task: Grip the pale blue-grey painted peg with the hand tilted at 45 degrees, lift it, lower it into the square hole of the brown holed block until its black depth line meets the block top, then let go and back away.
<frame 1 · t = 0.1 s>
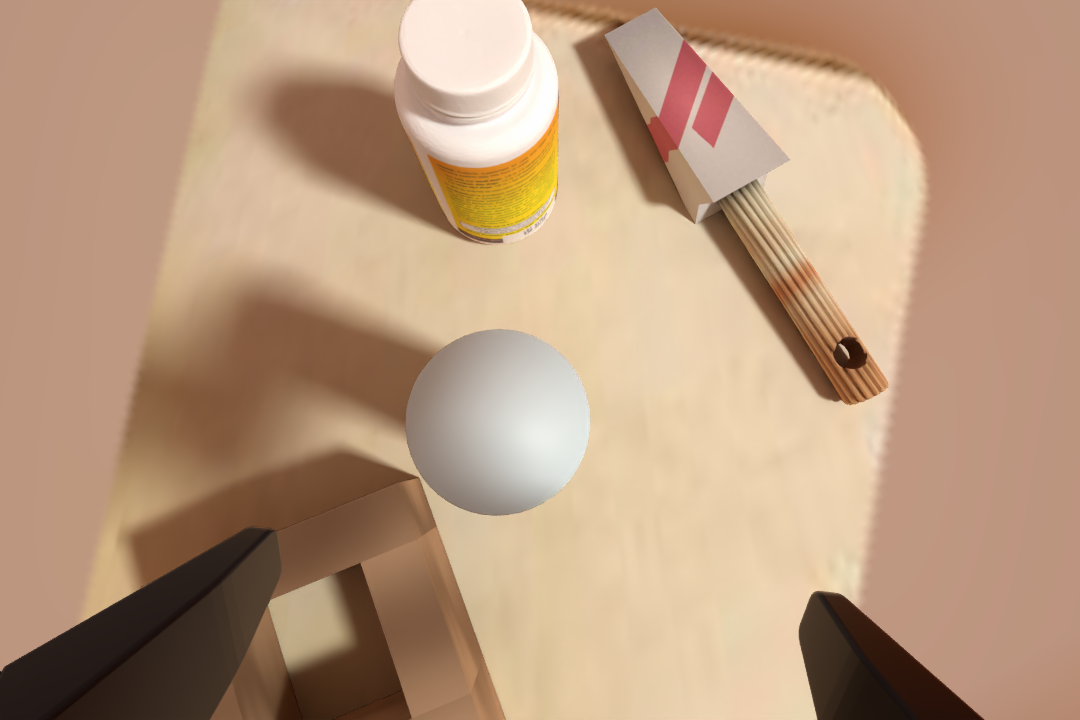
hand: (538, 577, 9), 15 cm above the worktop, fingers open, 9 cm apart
peg: (525, 434, 24), on the worktop
paintbrush: (732, 214, 26), on the worktop
supplement bottle: (499, 195, 26), on the worktop
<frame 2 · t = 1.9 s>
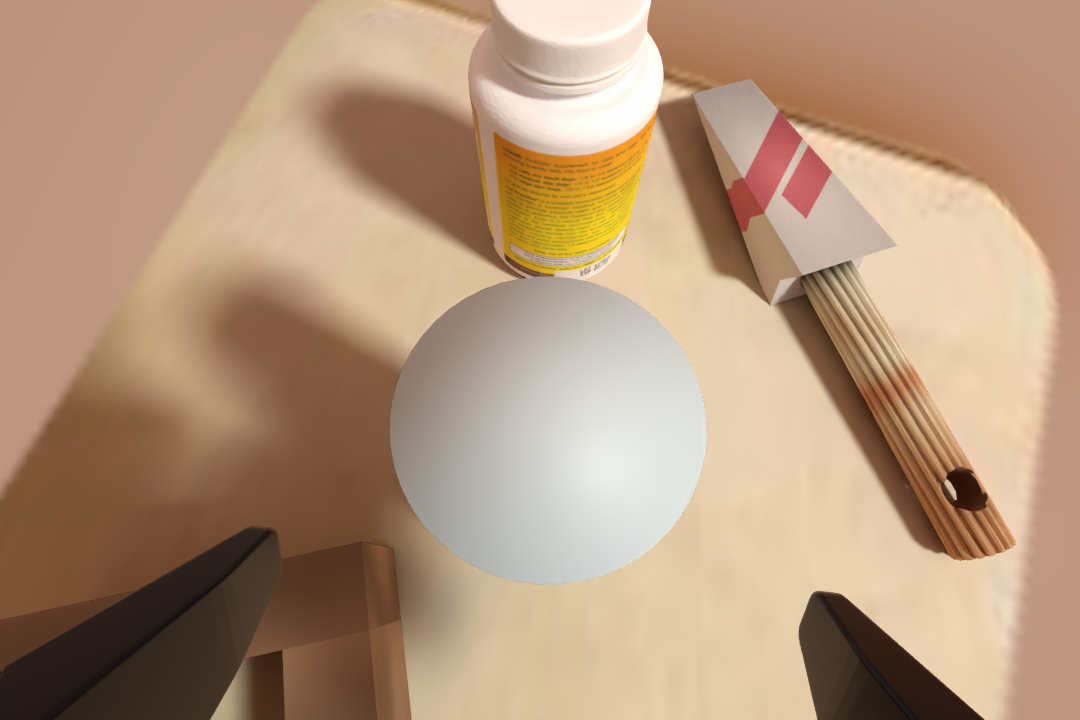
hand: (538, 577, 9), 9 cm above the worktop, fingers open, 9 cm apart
peg: (540, 515, 19), on the worktop
paintbrush: (813, 303, 22), on the worktop
supplement bottle: (556, 234, 23), on the worktop
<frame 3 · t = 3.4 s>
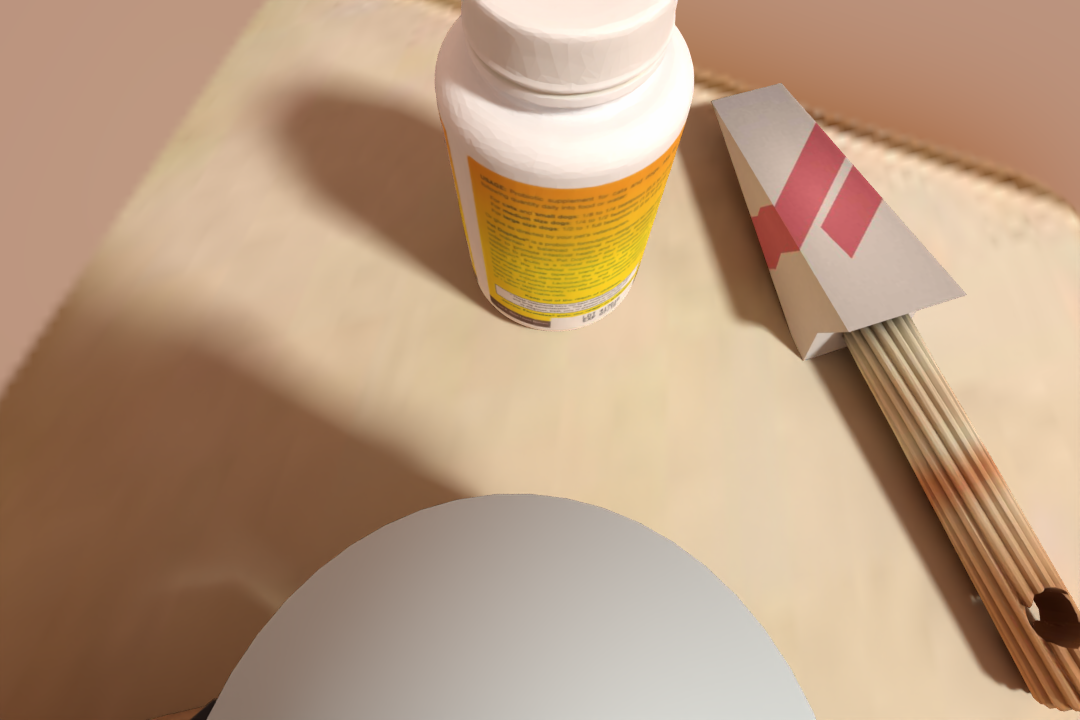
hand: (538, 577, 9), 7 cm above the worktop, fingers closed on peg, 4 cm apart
peg: (532, 630, 15), on the worktop, touching gripper
paintbrush: (855, 357, 18), on the worktop
supplement bottle: (554, 266, 19), on the worktop
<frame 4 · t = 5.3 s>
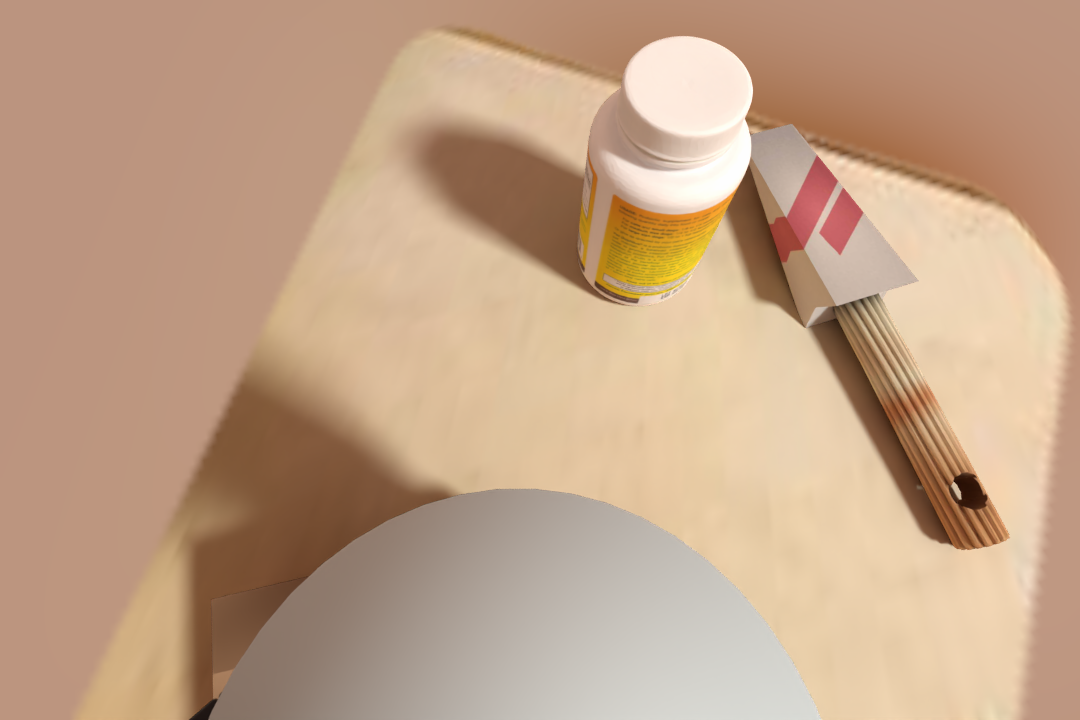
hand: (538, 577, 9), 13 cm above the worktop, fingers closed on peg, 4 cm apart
peg: (533, 628, 15), point 6 cm above the worktop, touching gripper
paintbrush: (842, 326, 25), on the worktop
supplement bottle: (633, 260, 26), on the worktop
when the fingers open (7 cm above the worktop, at t = 7.5 s): peg stays where it is, resting in brown holed block.
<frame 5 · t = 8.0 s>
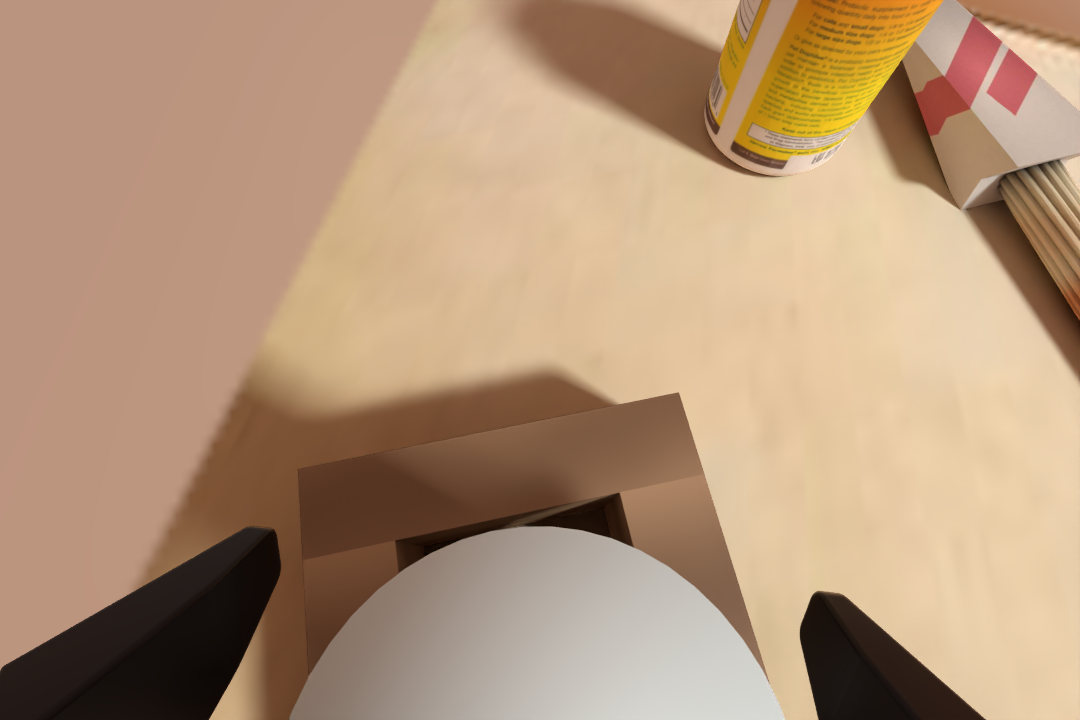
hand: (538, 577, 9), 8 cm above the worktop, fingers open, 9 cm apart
peg: (531, 629, 16), resting in brown holed block
paintbrush: (1002, 212, 21), on the worktop
supplement bottle: (766, 131, 23), on the worktop
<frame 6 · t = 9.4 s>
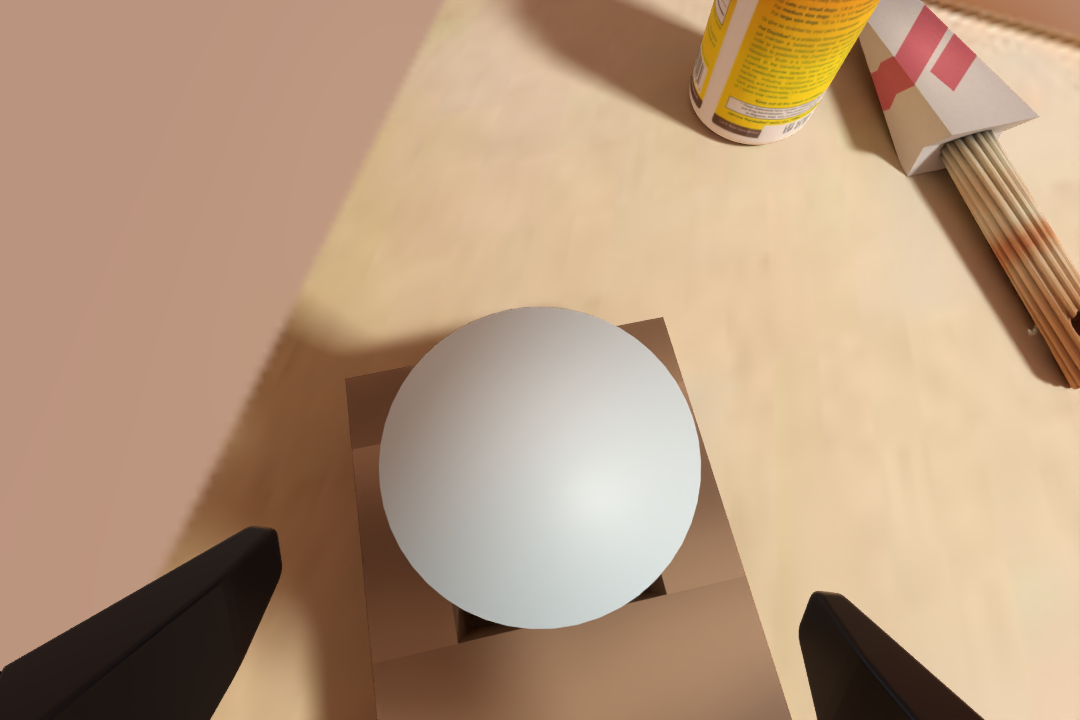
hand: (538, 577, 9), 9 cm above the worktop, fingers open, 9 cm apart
peg: (539, 522, 19), resting in brown holed block
paintbrush: (945, 179, 24), on the worktop
brown holed block: (567, 650, 17), on the worktop
supplement bottle: (744, 106, 25), on the worktop
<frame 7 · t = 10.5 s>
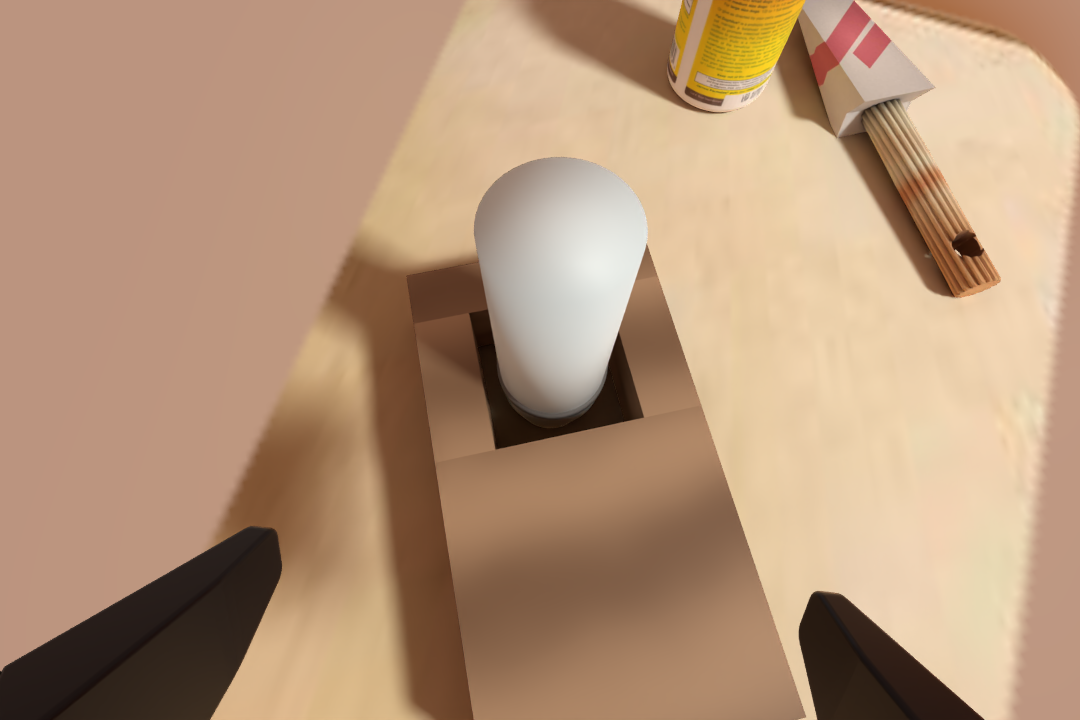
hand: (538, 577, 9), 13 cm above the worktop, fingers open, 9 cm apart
peg: (550, 392, 24), resting in brown holed block
paintbrush: (868, 140, 30), on the worktop
brown holed block: (572, 480, 23), on the worktop
supplement bottle: (712, 82, 31), on the worktop
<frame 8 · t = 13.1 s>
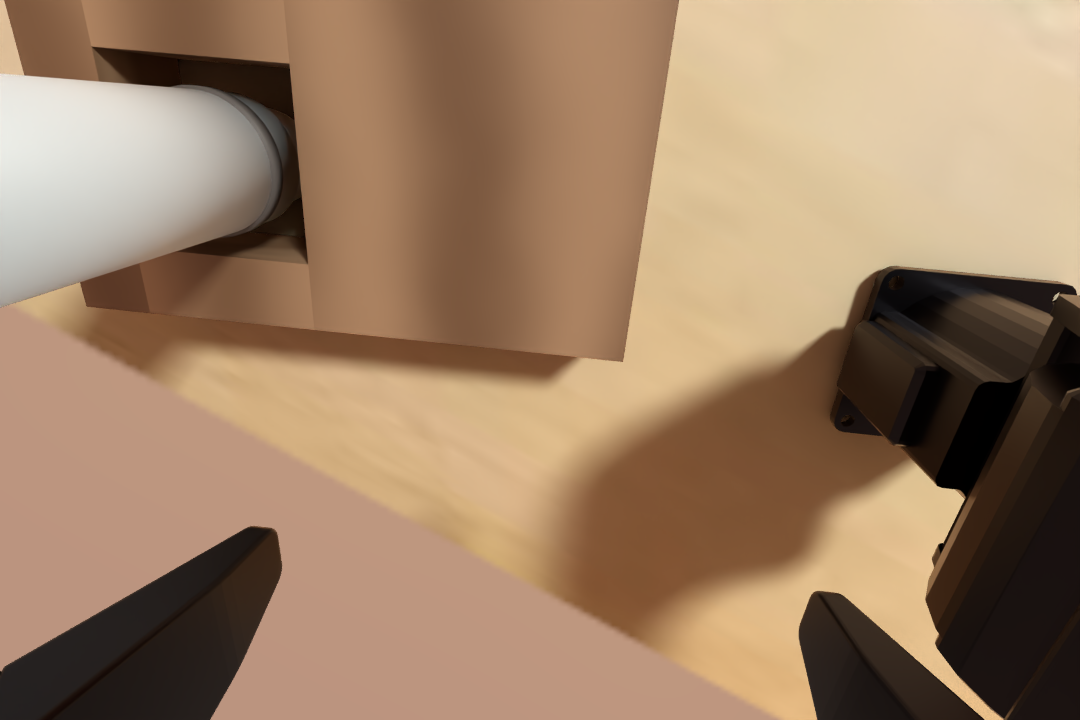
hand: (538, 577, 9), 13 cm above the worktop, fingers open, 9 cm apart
peg: (270, 157, 19), resting in brown holed block
brown holed block: (380, 165, 19), on the worktop
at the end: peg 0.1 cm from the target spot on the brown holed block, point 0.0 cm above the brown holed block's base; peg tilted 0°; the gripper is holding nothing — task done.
